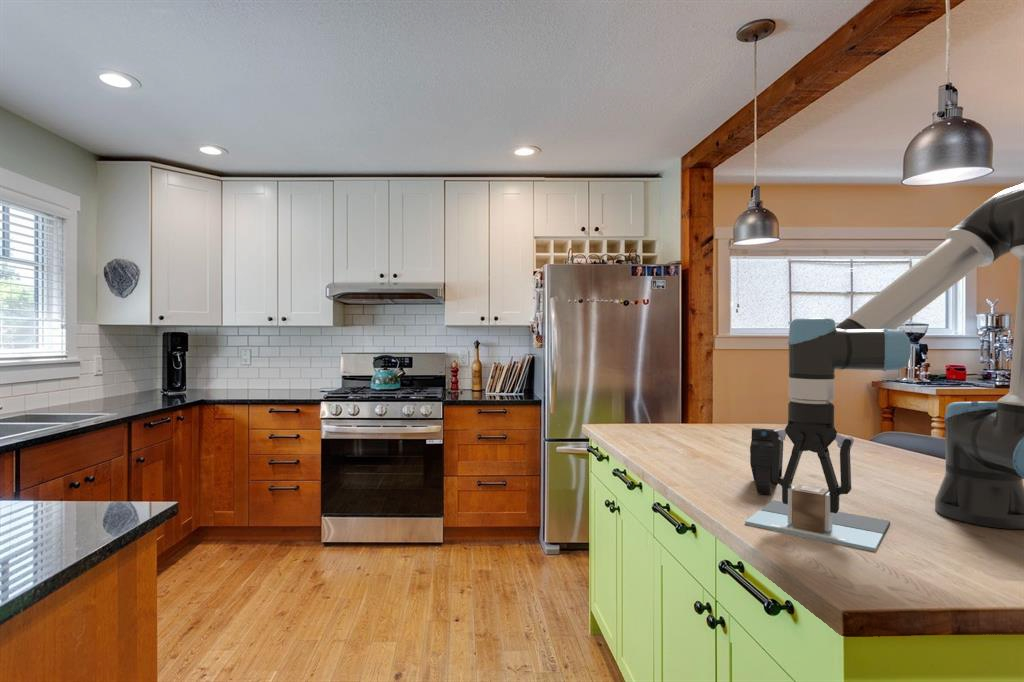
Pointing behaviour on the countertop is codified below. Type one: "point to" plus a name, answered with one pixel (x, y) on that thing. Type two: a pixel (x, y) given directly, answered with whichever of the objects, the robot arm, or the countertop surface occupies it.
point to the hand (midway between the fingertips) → (809, 525)
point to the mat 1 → (839, 518)
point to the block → (809, 508)
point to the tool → (762, 459)
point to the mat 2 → (836, 534)
